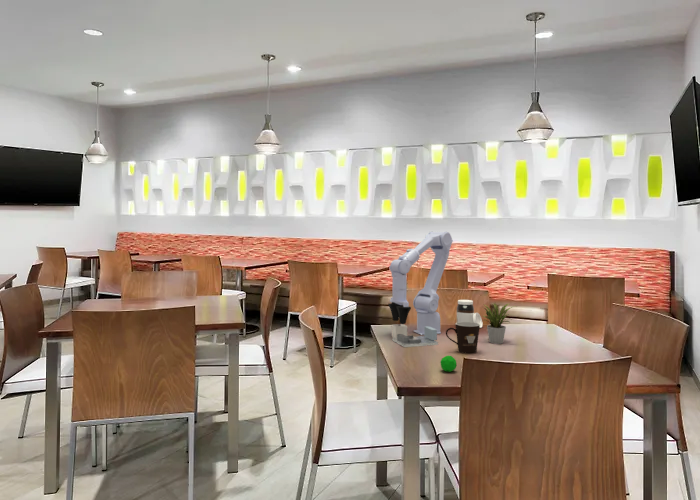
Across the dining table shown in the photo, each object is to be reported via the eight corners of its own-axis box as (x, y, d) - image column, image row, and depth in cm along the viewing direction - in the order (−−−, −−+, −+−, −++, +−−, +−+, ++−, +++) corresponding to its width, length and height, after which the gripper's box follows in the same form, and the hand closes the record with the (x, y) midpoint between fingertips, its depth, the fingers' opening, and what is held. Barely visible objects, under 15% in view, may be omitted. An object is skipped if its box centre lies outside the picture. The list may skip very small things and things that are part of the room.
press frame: (424, 338, 210) (424, 331, 210) (438, 344, 198) (438, 337, 198) (392, 340, 206) (392, 333, 206) (404, 347, 194) (404, 339, 194)
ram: (429, 336, 207) (429, 326, 207) (436, 339, 201) (436, 329, 201) (424, 336, 207) (424, 326, 207) (432, 340, 200) (432, 330, 200)
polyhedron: (438, 372, 160) (439, 357, 160) (442, 368, 165) (442, 353, 165) (455, 374, 159) (455, 358, 158) (457, 370, 163) (457, 355, 163)
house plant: (520, 340, 206) (521, 299, 205) (516, 347, 193) (516, 304, 193) (484, 337, 212) (484, 297, 211) (477, 344, 199) (478, 301, 199)
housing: (402, 336, 215) (403, 323, 215) (407, 338, 211) (407, 325, 210) (391, 336, 213) (391, 324, 213) (395, 339, 209) (395, 326, 209)
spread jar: (455, 323, 241) (456, 299, 241) (480, 324, 240) (481, 299, 239) (457, 328, 229) (457, 302, 229) (483, 329, 228) (484, 303, 227)
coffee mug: (480, 349, 190) (480, 322, 190) (478, 355, 182) (478, 327, 182) (448, 347, 194) (448, 320, 193) (445, 352, 186) (445, 325, 185)
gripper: (384, 287, 217) (383, 319, 217) (397, 291, 203) (396, 325, 203) (399, 286, 219) (399, 318, 219) (413, 290, 205) (413, 324, 206)
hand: (399, 322), depth 212 cm, fingers open, 7 cm apart
